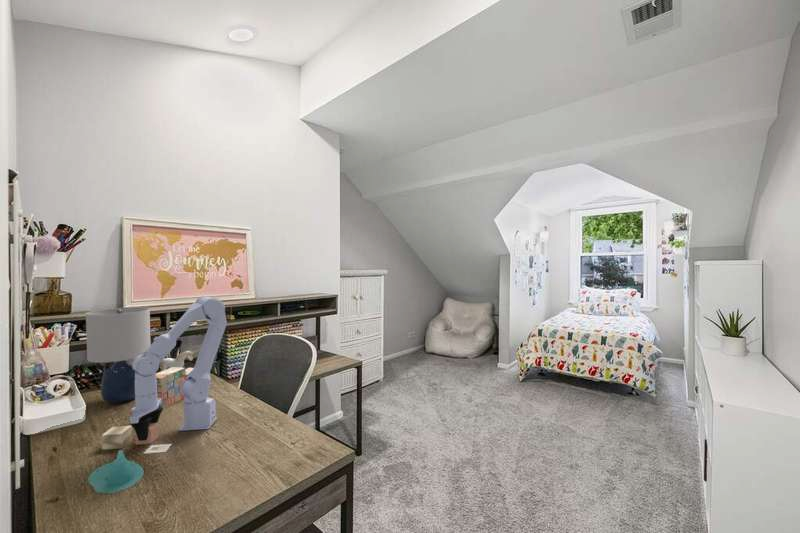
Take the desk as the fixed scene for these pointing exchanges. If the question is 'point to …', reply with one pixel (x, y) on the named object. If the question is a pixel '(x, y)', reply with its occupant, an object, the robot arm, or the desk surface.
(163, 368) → the unicorn figurine
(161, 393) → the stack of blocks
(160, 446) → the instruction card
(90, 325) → the lamp
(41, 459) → the desk surface
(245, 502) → the desk surface
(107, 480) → the teal plastic funnel
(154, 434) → the terracotta cube
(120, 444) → the birch base block
